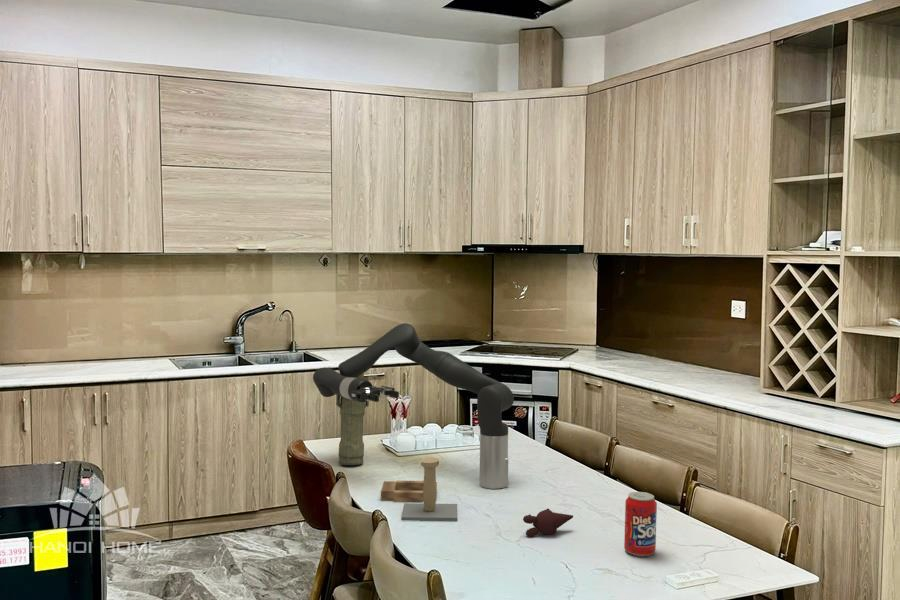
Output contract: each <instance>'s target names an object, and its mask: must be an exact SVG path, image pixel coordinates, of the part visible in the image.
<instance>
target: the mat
mask: <svg viewBox="0 0 900 600" xmlns="http://www.w3.org/2000/svg"><path fill="white" fill-rule="evenodd" d="M400 516H401V517H400V520H420V521H419V522H458V503H436V504H435V510H434V511H431V512H429V511H425V509H424V502H403V508H402V511H401V515H400Z"/></svg>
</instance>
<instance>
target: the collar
mask: <svg viewBox="0 0 900 600" xmlns="http://www.w3.org/2000/svg"><path fill="white" fill-rule="evenodd" d="M423 485H424V480H396V481H394V480H392V481H390V480H389V481H386V480H385V481H383V483H382V487H381V490H380V501H381V502H393V503H424V501H423ZM437 490H438V482H437V481H436V496H437V493H438V491H437Z"/></svg>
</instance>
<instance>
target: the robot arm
mask: <svg viewBox="0 0 900 600" xmlns="http://www.w3.org/2000/svg"><path fill="white" fill-rule="evenodd" d="M392 349H395V351H396V352H397V354H398V355H400V356H402V358H403V357H404V358H405V359H408V360H410V361H412V362H414V363H416V364H418V365H420V366H421V367H422V368H423V369H425V370H427V371H428V372H430V373H431V374H433V376H435V377H437V378H438V379H440V380H441V381H443V382H444V383H446V384H448V385H450V386H452V387H454V388H458V389H461V390H464V391H465V390H466V391H468V392H471V393H475V394H476V395H477V400H476V402H477V403H476V409H477V410H476V411H477V412H476V413H477V423H478V427H479V486H480V487H481V488H485V489H491V490H493V489H494V490H495V489H496V490H498V489H504V488H509V425H508V424H506V423H505V422H503V419H502V418H503V417H502V412H504V411H505V412H506V410H508V409H511V407H512V406H513V405H514V402H515V397H514V394H513V391H512V390H511V389H510V387H509V386H507V385H506V384H504V383H502V382H500V381H498V380H496V379H494V378H491V377H489V376H487V375H485V374H484V373H482V372H481V371H478V369H475V367H472V366H471V365H469V364H468V363H467V362H465V361H463V360H461V359H460V358H459V357H457V356H455V355H453V354H452V353H450V352H447V351H442V350H435V349H432V348H431V347H429V346H428V345H426V344H425V343H424V342H422V340H420V338H419V336H418V334H417V332H416V329H415V327H414V326H413V324H412V325H411V324H410V323H406V322H404V323H400V324H398V325H396V326H395V327H393V328H392V329H390V330H389V331H388V332H386V333H385V334H383V335H382V336H381V337H380V338H378V339H377V340H376V341H374V342H373V343H371V344H370V345H369V346H367V347H366V348H365V349H363V350H362V351H359V352H358V353H357V354H355V355H353V356H351V357H349V358H347V359H346V360H344V361H342V362H340V363H339V364H338V365H337V366H338V367H337V368H338V371H339V372H337V371H336V370H334V369H332V368H330V367H321V368H318V369H316V370H315V371H314V373H313V375H312V381H313V382H314V385H315V386H316V388H317V389H318V391H319V394H320V395H321V396H322V397H324V398H331V397H334V396H336V395H337V396H340V398H341V397H345V398H347V399H350V400H354V401H358V402H365V403H366V402H367V401H369V402H370V401H371V402H376V403H377V402H379V401H380V399H384V398H393V399H399V397H400V392H399V391H398V390H395V387H390V386H387V385H381V386H376V385H373V384H372V382H370V380H369V379H368V380H369V381H368V380H364V379H359V378H356V377H358V376H359V375H361V374H363V373H364V374H365V373H367V371H369V370H370V369H371V368H372V367H373V366H374V365H375V364H376V363H377V361H378V360H380V358H381V357H382V356H383V355H384V354H386V353H387V352H388V351H390V350H392Z"/></svg>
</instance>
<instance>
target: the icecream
mask: <svg viewBox="0 0 900 600" xmlns="http://www.w3.org/2000/svg"><path fill="white" fill-rule="evenodd" d="M573 518H574V515H573V514H566V513H559V512H553V511H552V510H551V509H550V508H548V507H547V508H546V509H544V510H541V511H539V512H538V513H537V514H536V516H535V515H531V514H530V513H529V514H527V515H524V516H523V518H522V520H523V522H524V523H525V524H530V525H532V526H533V527H530V528H528V529H527V530H526V531H525V536H527V538H528V537H529V538H532V537H535V536H537V534H539V533H541V534H545V535H554V534H556V533H557V530H558V529H559V528H560V527H562V526H563V525H565V524H566V523H567V522H570V520H572V519H573Z"/></svg>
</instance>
